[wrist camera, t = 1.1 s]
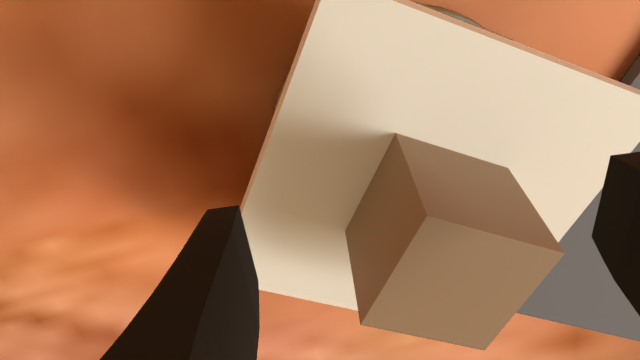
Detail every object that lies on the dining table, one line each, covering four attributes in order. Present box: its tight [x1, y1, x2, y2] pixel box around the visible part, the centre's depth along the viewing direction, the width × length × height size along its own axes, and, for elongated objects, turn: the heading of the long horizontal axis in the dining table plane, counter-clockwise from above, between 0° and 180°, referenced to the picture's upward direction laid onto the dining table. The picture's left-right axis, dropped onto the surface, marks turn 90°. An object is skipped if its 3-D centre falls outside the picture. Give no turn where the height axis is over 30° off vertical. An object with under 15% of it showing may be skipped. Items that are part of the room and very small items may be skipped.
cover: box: [240, 0, 640, 350], centre depth 16 cm, size 11×11×5 cm
